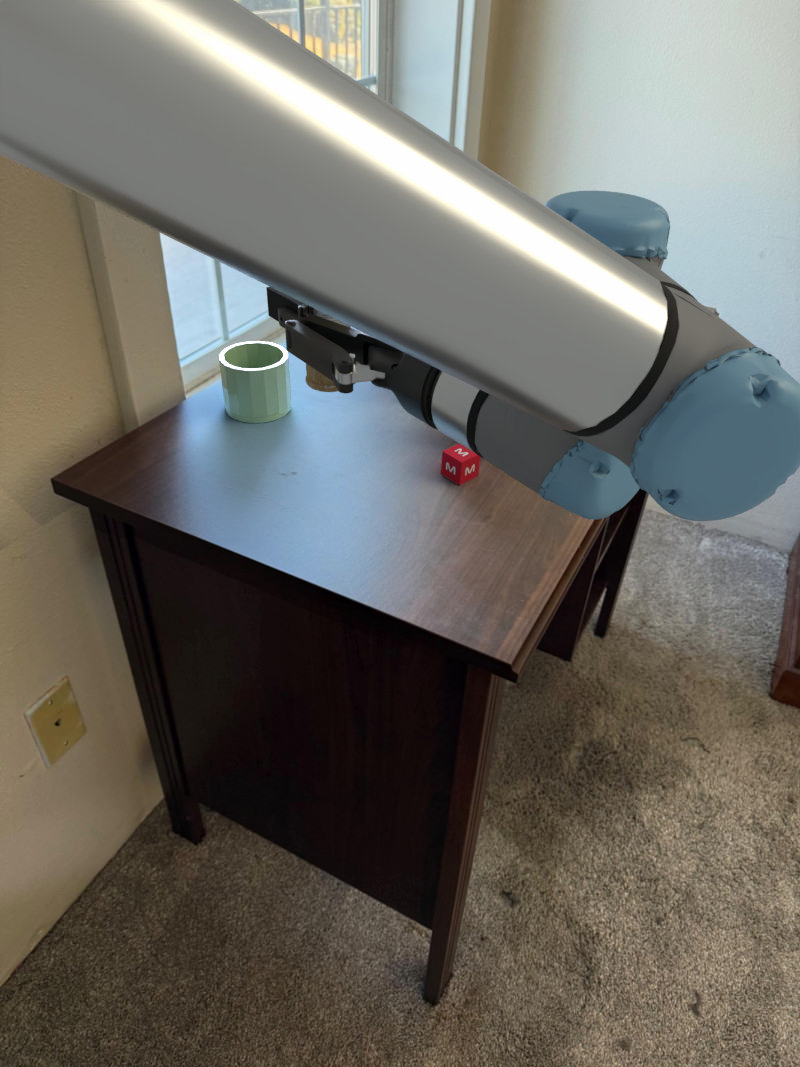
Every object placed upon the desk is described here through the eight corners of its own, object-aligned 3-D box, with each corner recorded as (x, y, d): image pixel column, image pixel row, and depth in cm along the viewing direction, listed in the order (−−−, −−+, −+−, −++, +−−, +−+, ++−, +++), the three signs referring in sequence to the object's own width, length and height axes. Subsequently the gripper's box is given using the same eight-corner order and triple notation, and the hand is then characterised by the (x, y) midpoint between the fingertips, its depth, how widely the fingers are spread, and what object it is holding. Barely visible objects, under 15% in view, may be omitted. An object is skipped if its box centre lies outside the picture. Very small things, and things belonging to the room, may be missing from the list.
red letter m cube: (478, 476, 83) (481, 453, 81) (459, 485, 82) (461, 462, 80) (459, 464, 85) (461, 442, 83) (440, 473, 83) (442, 450, 82)
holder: (226, 425, 90) (219, 372, 86) (224, 394, 96) (218, 343, 92) (294, 420, 92) (291, 368, 87) (288, 389, 98) (284, 339, 94)
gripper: (372, 466, 55) (216, 354, 69) (532, 399, 64) (366, 313, 78) (373, 373, 50) (206, 273, 64) (546, 315, 59) (366, 238, 73)
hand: (294, 295), depth 71 cm, fingers closed on sprinkles bottle, 4 cm apart
